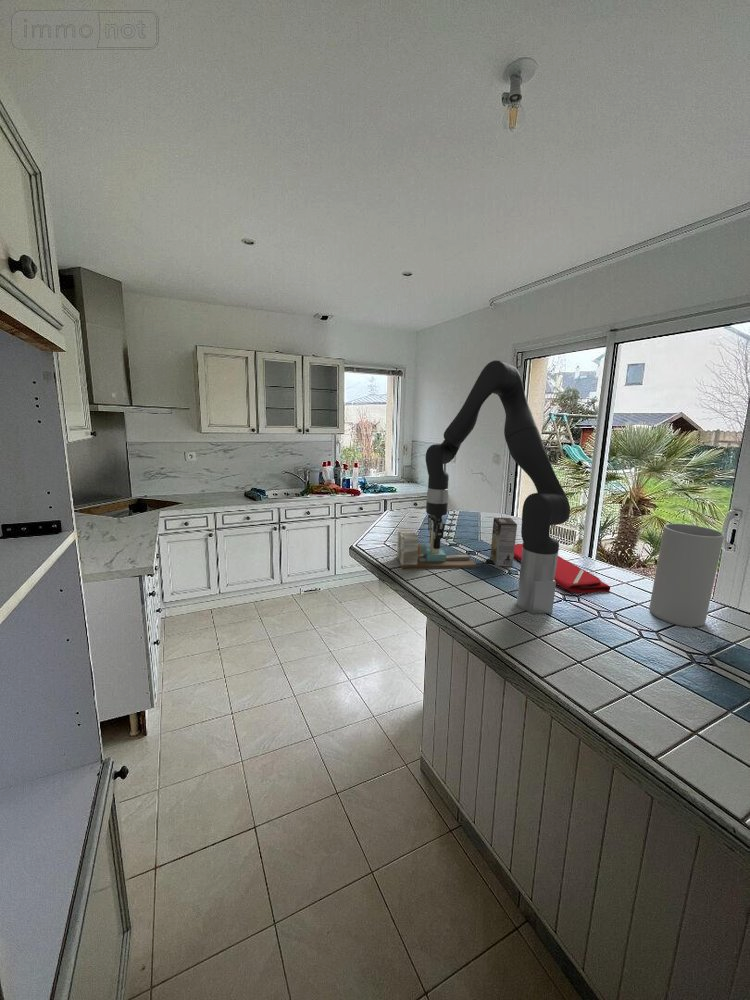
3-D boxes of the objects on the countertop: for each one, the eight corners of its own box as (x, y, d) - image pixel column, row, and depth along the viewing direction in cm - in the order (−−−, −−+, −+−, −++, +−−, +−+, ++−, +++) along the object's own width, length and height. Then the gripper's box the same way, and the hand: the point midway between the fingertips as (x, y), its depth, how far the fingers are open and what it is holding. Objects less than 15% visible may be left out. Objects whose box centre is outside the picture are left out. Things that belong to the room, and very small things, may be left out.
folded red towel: (537, 550, 166) (538, 541, 165) (611, 593, 126) (613, 582, 125) (502, 551, 163) (503, 542, 162) (566, 596, 123) (567, 584, 123)
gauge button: (420, 555, 144) (421, 546, 144) (404, 555, 144) (404, 547, 143) (418, 552, 148) (419, 544, 147) (402, 552, 147) (402, 544, 146)
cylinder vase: (638, 609, 114) (653, 525, 109) (668, 603, 119) (683, 522, 114) (684, 631, 103) (703, 538, 98) (715, 624, 107) (735, 534, 102)
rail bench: (476, 567, 143) (479, 538, 141) (402, 569, 140) (403, 539, 138) (465, 555, 155) (467, 528, 153) (396, 557, 152) (397, 529, 149)
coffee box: (489, 557, 154) (493, 517, 151) (506, 557, 154) (510, 517, 151) (495, 566, 145) (499, 523, 142) (513, 566, 145) (518, 524, 142)
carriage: (445, 561, 145) (447, 533, 142) (421, 562, 144) (422, 533, 141) (441, 556, 150) (442, 528, 148) (417, 556, 149) (419, 528, 147)
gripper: (453, 505, 136) (450, 552, 140) (441, 496, 150) (439, 540, 153) (432, 505, 135) (429, 553, 139) (422, 496, 149) (419, 540, 153)
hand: (434, 545), depth 146 cm, fingers open, 4 cm apart
